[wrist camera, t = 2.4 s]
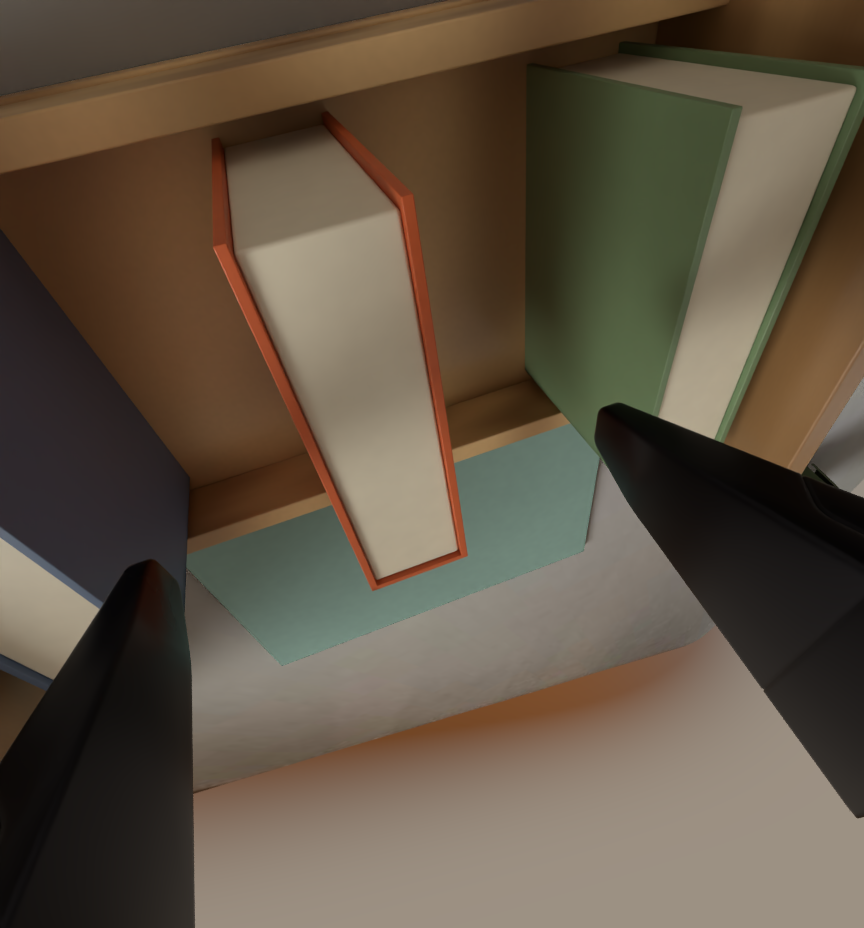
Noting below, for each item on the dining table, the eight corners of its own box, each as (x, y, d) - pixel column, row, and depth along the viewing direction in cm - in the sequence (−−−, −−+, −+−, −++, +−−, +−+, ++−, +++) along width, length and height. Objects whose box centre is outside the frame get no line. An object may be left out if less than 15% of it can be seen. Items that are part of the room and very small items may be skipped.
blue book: (-25, 194, 11) (-222, 361, 6) (190, 477, 18) (182, 661, 13) (-166, 227, 11) (-504, 436, 6) (110, 503, 18) (70, 703, 13)
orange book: (328, 111, 12) (413, 192, 7) (400, 409, 19) (468, 556, 14) (210, 138, 12) (211, 246, 7) (328, 432, 19) (372, 591, 14)
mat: (605, 394, 24) (610, 398, 24) (580, 547, 34) (584, 551, 34) (168, 542, 22) (167, 549, 21) (281, 660, 32) (281, 666, 31)
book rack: (669, -48, 13) (1168, -96, 6) (607, 354, 22) (780, 509, 16) (-305, 160, 10) (-1339, 492, 3) (92, 522, 20) (30, 802, 13)
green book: (625, 40, 13) (885, 68, 8) (588, 348, 20) (714, 465, 15) (526, 64, 13) (732, 109, 8) (524, 369, 20) (631, 495, 15)
